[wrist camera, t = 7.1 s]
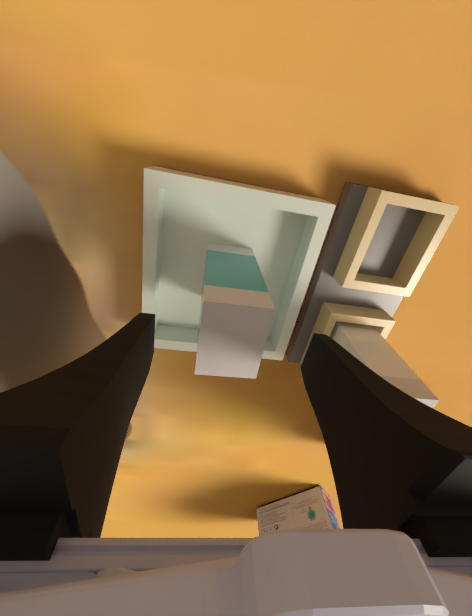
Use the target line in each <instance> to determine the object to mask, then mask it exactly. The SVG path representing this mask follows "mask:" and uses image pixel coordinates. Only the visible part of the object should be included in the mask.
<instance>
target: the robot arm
mask: <svg viewBox="0 0 472 616" xmlns="http://www.w3.org/2000/svg"><path fill="white" fill-rule="evenodd" d="M154 336H155V314H149V313H139V314H138V315H137V316H136V317H134V318H133V319H132V320H131V321H130V322H129V323H127V324H126V325H125V326H124V327H123V328H121V329H120V330H119V331H118V332H116V333H115V334H114V335H113V336H111V337H110V338H109V339H107V340H106V341H104V342H103V343H102V344H100V345H99V346H97V347H96V348H94V349H93V350H91V351H90V352H88V353H87V354H85V355H83V356H82V357H80V358H78V359H76V360H74V361H73V362H71V363H69V364H67V365H65V366H63V367H61V368H59V369H57V370H55V371H52V372H50V373H48V374H46V375H44V376H42V377H40V378H37V379H35V380H33V381H30V382H28V383H25V384H23V385H20V386H17V387H15V388H12V389H10V390H7V391H4V392H1V393H0V616H472V427H470V426H467V425H465V424H463V423H461V422H459V421H457V420H455V419H453V418H450V417H448V416H446V415H444V414H442V413H440V412H438V411H436V410H434V409H433V408H431V407H429V406H427V405H425V404H424V403H422V402H420V401H418V400H416V399H415V398H413V397H411V396H410V395H408V394H406V393H405V392H403V391H402V390H400V389H398V388H397V387H395V386H394V385H392V384H391V383H389V382H388V381H386V380H385V379H383V378H382V377H381V376H379V375H378V374H376V373H375V372H374V371H372V370H371V369H370V368H368V367H367V366H366V365H364V364H363V363H362V362H361V361H359V360H358V359H357V358H356V357H354V356H353V355H352V354H351V353H349V352H348V351H347V350H346V349H345V348H343V347H342V346H341V345H340V344H338V343H337V342H336V341H335V340H333V339H332V338H330V337H329V336H328V335H326V334H317V333H314V334H313V336H312V339H311V341H310V344H309V347H308V349H307V352H306V354H305V357H304V359H303V362H302V364H301V370H302V375H303V380H304V384H305V387H306V390H307V393H308V396H309V399H310V401H311V404H312V407H313V409H314V412H315V415H316V417H317V420H318V423H319V425H320V428H321V431H322V434H323V437H324V440H325V444H326V448H327V451H328V455H329V459H330V463H331V468H332V472H333V476H334V481H335V485H336V490H337V495H338V500H339V505H340V510H341V516H342V522H343V528H344V529H302V528H294V529H285V530H276V531H271V532H268V533H266V534H263V535H260V536H258V537H255V538H100V536H101V532H102V527H103V523H104V519H105V515H106V511H107V506H108V502H109V498H110V494H111V490H112V486H113V482H114V478H115V475H116V471H117V467H118V463H119V459H120V455H121V452H122V448H123V444H124V441H125V437H126V433H127V430H128V426H129V423H130V420H131V417H132V415H133V412H134V410H135V407H136V404H137V402H138V399H139V397H140V394H141V391H142V389H143V386H144V384H145V381H146V378H147V376H148V373H149V370H150V366H151V362H152V357H153V353H154Z"/></svg>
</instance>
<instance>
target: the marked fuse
mask: <svg viewBox="0 0 472 616" xmlns="http://www.w3.org/2000/svg"><path fill="white" fill-rule="evenodd" d="M274 311H275V308H274V305H273V302H272V300H271V297H270V294H269V292H268V289H267V286H266V284H265V281H264V279H263V276H262V273H261V271H260V268H259V265H258V263H257V260H256V257H255V255H254V252H253V249H251V248H244V247H237V246H229V245H222V244H215V243H208V244H207V253H206V261H205V270H204V279H203V288H202V297H201V308H200V319H199V330H198V341H197V352H196V363H195V374H197V375H211V376H224V377H238V378H252V379H256V377H257V373H258V370H259V366H260V362H261V359H262V355H263V351H264V348H265V344H266V340H267V336H268V333H269V329H270V325H271V322H272V318H273V314H274Z"/></svg>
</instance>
